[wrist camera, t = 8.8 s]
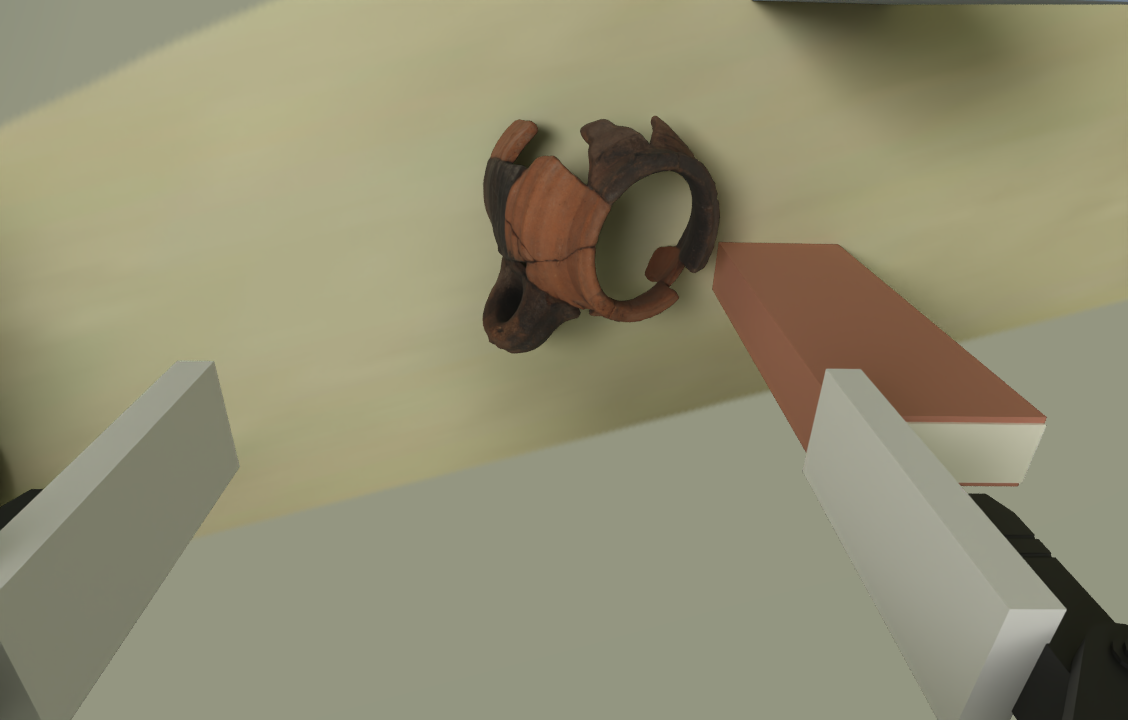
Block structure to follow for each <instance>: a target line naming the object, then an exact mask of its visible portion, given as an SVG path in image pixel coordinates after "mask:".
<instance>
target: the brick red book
mask: <svg viewBox="0 0 1128 720" xmlns="http://www.w3.org/2000/svg"><path fill="white" fill-rule="evenodd" d="M712 290H713V291H714V293H715V295H716V297H717V298H718V300H719V302H720V304H721V305H722V307H723V309H724V310H725V312H726V314H727V316H728V317H729V319H730V321H731V323H732V324H733V326H734V328H735V330H736V331H737V333H738V335H739V337H740V338H741V340H742V342H743V344H744V345H745V347H746V349H747V351H748V352H749V354H750V356H751V357H752V359H753V361H754V363H755V364H756V366H757V368H758V370H759V371H760V373H761V375H762V377H763V378H764V380H765V382H766V384H767V385H768V387H769V389H770V391H771V392H772V394H773V396H774V398H775V399H776V401H777V403H778V404H779V406H780V408H781V410H782V411H783V413H784V415H785V417H786V418H787V420H788V422H789V424H790V425H791V427H792V429H793V431H794V432H795V434H796V436H797V438H798V439H799V441H800V443H801V444H802V446H803V448H804V450H805V451H806V453H807V449H808V444H809V440H810V436H811V431H812V427H813V423H814V418H815V414H816V410H817V405H818V401H819V397H820V393H821V388H822V384H823V380H824V375H825V371H826V369H861V370H862V371H863V372H864V373H865V375H866V376H867V377H868V378H869V379H870V380H871V382H872V383H873V384H874V385H875V386H876V387H877V389H878V390H879V391H880V392H881V393H882V394H883V396H884V397H885V398H886V399H887V400H888V401H889V403H890V404H891V405H892V406H893V407H894V408H895V410H896V411H897V412H898V413H899V414H900V415H901V417H902V418H903V419H904V420H905V421H906V422H907V424H908V425H909V426H910V427H911V428H912V429H913V431H914V432H915V433H916V434H917V435H918V436H919V438H920V439H921V440H922V441H923V442H924V443H925V445H926V446H927V447H928V448H929V449H930V450H931V452H932V453H933V454H934V455H935V456H936V457H937V459H938V460H939V461H940V462H941V463H942V464H943V466H944V467H945V468H946V469H947V470H948V471H949V473H950V474H951V475H952V476H953V477H954V478H955V480H956V481H957V482H958V483H959V484H960V485H961V486H1018V485H1019V483H1022V482H1023V480H1024V478H1025V475H1026V473H1027V471H1028V468H1029V466H1030V464H1031V461H1032V459H1033V456H1034V454H1035V452H1036V449H1037V447H1038V445H1039V442H1040V440H1041V437H1042V435H1043V433H1044V430H1045V428H1046V426H1047V425H1046V424H1045V421H1046V418H1047V417H1046V416H1045V415H1043V414H1042V413H1041V412H1040V411H1039V410H1037V409H1036V408H1035V407H1034V406H1033V405H1031V404H1030V403H1029V402H1028V401H1027V400H1025V399H1024V398H1023V397H1022V396H1020V395H1019V394H1018V393H1017V392H1016V391H1014V390H1013V389H1012V388H1011V387H1009V386H1008V385H1007V384H1006V383H1005V382H1004V381H1002V380H1001V379H1000V378H999V377H998V376H996V375H995V374H994V373H993V372H991V371H990V370H989V369H988V368H987V367H986V366H984V365H983V364H982V363H981V362H979V361H978V360H977V359H976V358H975V357H973V356H972V355H971V354H970V353H969V352H967V351H966V350H965V349H964V348H963V347H961V346H960V345H959V344H958V343H957V342H955V341H954V340H953V339H952V338H951V337H949V336H948V335H947V334H946V333H945V332H943V331H942V330H941V329H940V328H938V327H937V326H936V325H935V324H934V323H932V322H931V321H930V320H929V319H928V318H926V317H925V316H924V315H923V314H922V313H920V312H919V311H918V310H917V309H916V308H914V307H913V306H912V305H911V304H910V303H908V302H907V301H906V300H905V299H903V298H902V297H901V296H900V295H899V294H897V293H896V292H895V291H894V290H893V289H891V288H890V287H889V286H888V285H887V284H885V283H884V282H883V281H882V280H881V279H879V278H878V277H877V276H876V275H875V274H873V273H872V272H871V271H870V270H868V269H867V268H866V267H865V266H864V265H862V264H861V263H860V262H859V261H858V260H856V259H855V258H854V257H853V256H852V255H850V254H849V253H848V252H847V251H846V250H844V249H843V248H842V247H841V246H840V245H838V244H788V243H733V242H719V244H718V251H717V259H716V266H715V273H714V281H713V288H712Z"/></svg>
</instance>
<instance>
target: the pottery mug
mask: <svg viewBox="0 0 1128 720" xmlns="http://www.w3.org/2000/svg"><path fill="white" fill-rule="evenodd" d="M651 125H652V129H653V132H652V136H651V140H650V144H649V143H648V141H647V140H646V139H645V138H644V137H643V136H642V135H641V134H640V133H638V132H636V131H635V130H633V129H632V128H629V127H624V126H617V125H615V124H613V123H612V122H610V121H608V120H606V119H600V120H597V121H594V122H591V123H588V124H586V125H584V126H583V127H582V128H581V130H580V133H581V135H582V137H583V139H584V140H585V141H586V142H587V143H588V144H589V149H588V156H589V174H588V184H587V185H586V184H584V183H583V182H582V181H581V180H580V179H579V178H578V177H576V176H575V175H573V174H572V173H571V172H570V171H569V170H568V169H567V168H566V167H565V166H564V165H563V164H562V163H561V162H560V160H559V159H558V158H556V157H555V156H542V157H538V158H536V159H535V160H534V162H533V163H532V164H531V165H530V167H529V168H528V169H527V168H526V167H525V166H522V165H514V164H513V163H514V162H515V160H516V159H517V157H518V156H519V154H520V152H521V151H522V150H523V149H524V147H525V146H526V145H527V144H528V143H529V141H530V140H531V139H532V138H533V137H534V136H535V135H536V134H537V132H538V127H537V126H536V124H535V123H533V122H532V121H524V120H516V121H514V122H513V123H512V124H511V125H510V126H509V127H508V128H507V129H506V130H505V132H504V133H503V134H502V136H501V137H500V139H499V140H498V142H497V144H496V145H495V147H494V149H493V151H492V153H491V157H490V159H489V160H488V163H487V167H486V171H485V176H484V183H483V189H484V203H485V208H486V211H487V214H488V217H489V219H490V221H491V223H492V226H493V232H494V236H495V239H496V242H497V244H498V251H499V253H500V254H501V255H502V256H503V258H502V263H501V270H500V273H499V276H498V279H497V281H496V283H495V285H494V287H493V288H492V290H491V293H490V295H489V297H488V299H487V302H486V304H485V308H484V313H483V326H484V329H485V332H486V333H487V335H488V338H489V342H491V343H492V344H495V345H496V346H497V347H498V348H500V349H504V350H506V351H508V352H510V353H523V352H528V351H531V350H534V349H536V348H537V347H539V346H540V345H541V344H543V343H544V342H545V341H546V340H547V339H548V338H549V337H550V335H551V334H552V333H553V331H554V330H555V329H557V328H558V327H559V326H560V325H561V324H562V323H564V322H566V321H568V320H571V319H575V318H578V317H579V315H580V313H581V312H580V310H579V308H580V309H583V310H584V309H590V310H589V314H590V315H591V316H603V317H604V318H608V319H610V320H615V321H618V322H620V321H621V322H636V321H642V320H644V319H647V318H651V317H653V316H655V315H657V314H659V313H661V312H663V311H664V310H666V309H667V308H669V307H670V306H671V305H673V304H674V303H675V302H676V301H677V300H678V299H679V296H678V294H677V293H676V291H675V290H673V289H671V288H669V287H670V286H671V284H672V283H673V282H674V281H675V280H676V279H677V278H678V276H679V275H680V273H681V272H682V270H683V269H684V267H686V268H687V269H688V270H689V271H690V272H692V273H696V272H698V271H699V270H701V269H703V268H704V267H705V265H706V264H707V262H708V260H709V257H710V255H711V252H712V250H713V247H714V243H715V240H716V236H717V233H718V226H719V218H720V212H719V202H718V200H717V191H716V186H715V182H714V181H713V179H712V177H711V175H710V174H709V172H708V170H707V169H706V167H705V166H704V165H703V164H702V163H701V162H700V161H698V160H697V159H695V157H694V155H693V153H692V152H691V150H690V149H689V148H688V146H687V145H685V144H684V142H683V141H682V140H681V139H680V138H679V137H678V135H677V134H676V133H675V132H674V131H673V130H672V129H671V128H670V127H669V126H668V125H667V124H666V123H665V122H664V121H662V120H661V119H660V118H658V117H657V116H653V117H652V119H651ZM669 170H670V171H673V172H676V173H678V174H680V175H681V176H683V177H684V179H685V180H686V181H687V182H688V184H689V187H690V190H691V194H692V211H691V215H690V219H689V222H688V224H687V227H686V229H685V231H684V232H683V235H682V237H681V238H680V240H679V242H678V244H677V246H675V247H672V246H668V247H659V248H657V249H656V250H655V252H654V253H653V255H652V257H651V259H650V261H649V263H648V266H647V268H646V271H645V276H646V277H647V279H648V280H650V281H652V282H658V283H656V285H654V286H653V287H652V288H651V289H650V290H648V291H647V292H645V293H643V294H642V295H640V296H638V297H636V298H634V299H631V300H626V301H617V300H614V299H612V298H610V297H608V296H607V295H606V294H605V293H604V292H603V290H602V289H601V287H600V285H599V282H598V279H597V275H596V269H595V250H596V247H595V246H596V244H597V241H598V237H599V233H600V231H601V228H602V226H603V223H604V221H605V219H606V217H607V215H608V213H609V212H610V210H611V207H612V204H613V203H614V202H615V201H616V200H617V199H618V198H620V196H621V195H622V194H623V193H624V192H625V191H626V190H627V189H628V188H629V187H630V186H632V185H633V184H634V183H636V182H637V181H639V180H641V179H643V178H644V177H647V176H649V175H651V174H654V173H657V172H662V171H669Z"/></svg>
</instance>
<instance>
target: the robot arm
mask: <svg viewBox="0 0 1128 720" xmlns="http://www.w3.org/2000/svg"><path fill="white" fill-rule="evenodd" d="M239 467H240V466H239V462H238V458H237V454H236V450H235V445H234V441H233V437H232V433H231V429H230V425H229V421H228V417H227V412H226V408H225V404H224V400H223V396H222V392H221V388H220V383H219V379H218V375H217V371H216V367H215V363H214V361H176V362H175V363H174V364H173V365H172V366H171V367H170V368H169V369H168V370H167V371H166V372H165V373H164V374H163V375H162V376H161V377H160V378H159V379H158V380H157V381H156V382H155V383H154V384H153V385H152V386H150V387H149V388H148V389H147V390H146V391H145V392H144V393H143V394H142V395H141V396H140V397H139V398H138V399H137V400H136V401H135V402H134V403H133V404H132V405H131V406H130V407H129V408H128V409H127V410H126V411H124V412H123V413H122V414H121V415H120V416H119V417H118V418H117V419H116V420H115V421H114V422H113V423H112V424H111V425H110V426H109V427H108V428H107V429H106V430H105V431H104V432H103V433H102V434H101V435H99V436H98V437H97V438H96V439H95V440H94V441H93V442H92V443H91V444H90V445H89V446H88V447H87V448H86V449H85V450H84V451H83V452H82V453H81V454H80V455H79V456H78V457H77V458H76V459H75V460H73V461H72V462H71V463H70V464H69V465H68V466H67V467H66V468H65V469H64V470H63V471H62V472H61V473H60V474H59V475H58V476H57V477H56V478H55V479H54V480H53V481H52V482H51V483H50V484H48V485H47V486H46V487H45V488H44V489H31V490H29V491H27V492H26V493H24V494H22V495H20V496H19V497H17V498H15V499H13V500H12V501H10V502H8V503H7V504H5V505H3V506H1V507H0V720H71V719H72V718H73V716H74V715H75V713H76V712H77V710H78V709H79V707H80V705H81V704H82V702H83V701H84V700H85V698H86V696H87V695H88V693H89V692H90V691H91V689H92V687H93V686H94V685H95V683H96V682H97V680H98V679H99V677H100V675H101V674H102V673H103V671H104V669H105V668H106V667H107V665H108V664H109V662H110V660H111V659H112V657H113V656H114V655H115V653H116V652H117V650H118V649H119V647H120V646H121V644H122V643H123V641H124V639H125V638H126V637H127V635H128V634H129V632H130V631H131V629H132V628H133V626H134V624H135V623H136V621H137V620H138V619H139V617H140V616H141V614H142V613H143V611H144V610H145V608H146V607H147V605H148V604H149V602H150V601H151V599H152V597H153V596H154V595H155V593H156V592H157V590H158V588H159V587H160V585H161V584H162V583H163V581H164V580H165V578H166V577H167V575H168V573H169V572H170V571H171V569H172V568H173V566H174V564H175V563H176V561H177V560H178V558H179V557H180V556H181V554H182V553H183V551H184V549H185V548H186V547H187V545H188V544H189V542H190V541H191V539H192V538H193V536H194V535H195V533H196V532H197V530H198V529H199V527H200V526H201V524H202V523H203V521H204V520H205V518H206V517H207V515H208V514H209V512H210V511H211V509H212V508H213V506H214V505H215V503H216V502H217V500H218V499H219V497H220V496H221V494H222V493H223V491H224V490H225V488H226V487H227V485H228V484H229V482H230V481H231V479H232V478H233V476H234V475H235V473H236V472H237V470H238V469H239ZM802 471H803V473H804V475H805V477H806V479H807V481H808V483H809V484H810V486H811V488H812V490H813V492H814V494H815V495H816V497H817V499H818V501H819V503H820V505H821V507H822V508H823V510H824V512H825V514H826V516H827V517H828V519H829V521H830V523H831V525H832V527H833V529H834V530H835V532H836V534H837V536H838V538H839V539H840V541H841V543H842V545H843V547H844V549H845V551H846V552H847V554H848V556H849V558H850V560H851V562H852V563H853V565H854V567H855V569H856V571H857V572H858V574H859V576H860V578H861V580H862V582H863V584H864V586H865V587H866V589H867V591H868V593H869V595H870V597H871V598H872V600H873V602H874V604H875V606H876V607H877V609H878V611H879V613H880V615H881V617H882V618H883V620H884V622H885V624H886V626H887V628H888V629H889V631H890V633H891V635H892V637H893V639H894V640H895V642H896V644H897V646H898V648H899V650H900V652H901V654H902V655H903V657H904V659H905V661H906V663H907V665H908V666H909V668H910V670H911V671H912V674H913V676H914V677H915V679H916V681H917V683H918V685H919V686H920V688H921V690H922V692H923V694H924V696H925V698H926V699H927V701H928V703H929V705H930V707H931V709H932V710H933V712H934V714H935V716H936V718H937V720H1010V719H1011V717H1012V715H1014V716H1015V718H1016V719H1017V720H1128V625H1126V624H1119V623H1115V622H1114V621H1113V620H1112V619H1111V618H1110V617H1109V616H1108V614H1107V613H1106V612H1105V611H1104V610H1103V609H1102V608H1101V607H1100V606H1099V605H1098V603H1096V601H1095V600H1094V599H1093V598H1092V597H1091V596H1090V595H1089V594H1088V593H1087V592H1086V590H1085V589H1084V588H1083V587H1082V586H1081V585H1080V584H1079V583H1078V582H1077V581H1076V579H1075V578H1074V577H1073V576H1072V575H1071V574H1070V573H1069V572H1068V571H1067V570H1066V569H1065V567H1064V566H1063V565H1062V564H1061V563H1060V562H1059V561H1058V560H1057V559H1056V558H1052V557H1051V552H1050V551H1049V550H1048V549H1047V548H1046V547H1045V546H1044V545H1043V543H1042V542H1040V540H1039V539H1035V537H1034V534H1033V533H1032V532H1031V530H1030V529H1029V528H1028V527H1027V526H1026V525H1025V524H1024V523H1023V522H1022V521H1021V520H1020V518H1019V517H1018V516H1017V515H1016V514H1015V513H1014V512H1012V511H1011V510H1009V509H1008V508H1006V507H1005V506H1003V505H1002V504H1000V503H999V502H997V501H996V500H994V499H993V498H991V497H990V496H988V495H987V494H967V493H966V491H965V490H964V489H963V488H962V487H961V485H960V484H959V483H958V482H957V481H956V480H955V478H954V477H953V476H952V475H951V474H950V473H949V471H948V470H947V469H946V468H945V467H944V466H943V464H942V463H941V462H940V461H939V460H938V459H937V457H936V456H935V455H934V454H933V453H932V452H931V450H930V449H929V448H928V447H927V446H926V445H925V443H924V442H923V441H922V440H921V439H920V438H919V436H918V435H917V434H916V433H915V432H914V431H913V429H912V428H911V427H910V426H909V425H908V424H907V422H906V421H905V420H904V419H903V418H902V417H901V415H900V414H899V413H898V412H897V411H896V410H895V408H894V407H893V406H892V405H891V404H890V403H889V401H888V400H887V399H886V398H885V397H884V396H883V394H882V393H881V392H880V391H879V390H878V389H877V387H876V386H875V385H874V384H873V383H872V382H871V380H870V379H869V378H868V377H867V376H866V375H865V373H864V372H863V371H862V370H861V369H826V371H825V375H824V380H823V384H822V388H821V393H820V397H819V401H818V405H817V410H816V414H815V418H814V423H813V427H812V431H811V436H810V440H809V444H808V449H807V453H806V457H805V462H804V466H803V470H802Z"/></svg>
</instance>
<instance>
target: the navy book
mask: <svg viewBox="0 0 1128 720" xmlns="http://www.w3.org/2000/svg"><path fill="white" fill-rule="evenodd" d="M755 1H789V2H824V3H859V4H1128V0H755Z"/></svg>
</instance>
